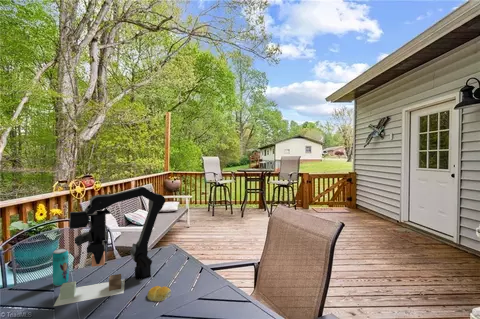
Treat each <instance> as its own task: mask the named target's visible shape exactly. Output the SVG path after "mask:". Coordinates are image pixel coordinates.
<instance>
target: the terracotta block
mask: <svg viewBox="0 0 480 319" xmlns="http://www.w3.org/2000/svg"><path fill="white" fill-rule="evenodd" d="M105 263H106V251H104V253H103V256H102V258H101V261H100V263H99V264H96V261H95V258H94V255H93V253H92V254H91V268H93V267H101V266H105Z"/></svg>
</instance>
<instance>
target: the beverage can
mask: <svg viewBox="0 0 480 319" xmlns="http://www.w3.org/2000/svg"><path fill="white" fill-rule="evenodd" d="M52 253H53V254H52V284H53V285H54V286H55V287H58V286H60V287H61V286H62V284H63V283H68V282H69V280H70V279H69V278H70V277H69V274H70V273H69V272H70V271H69V269H70V268H69V267H70V266H69V251H68V248H58V249H56V250H54V251H53V252H52Z"/></svg>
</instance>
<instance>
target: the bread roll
mask: <svg viewBox="0 0 480 319" xmlns="http://www.w3.org/2000/svg"><path fill="white" fill-rule="evenodd" d="M171 295H172V290H171V289H170V288H169V287H168V286H164V285H163V286H160V285H156V286H153V287H151V288H150V289H148V291H147V300H149V301H152V302H163V301H165V300H167V299H168V298H170V297H171Z"/></svg>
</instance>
